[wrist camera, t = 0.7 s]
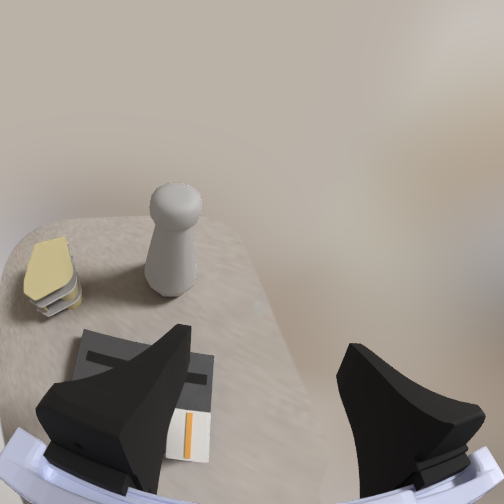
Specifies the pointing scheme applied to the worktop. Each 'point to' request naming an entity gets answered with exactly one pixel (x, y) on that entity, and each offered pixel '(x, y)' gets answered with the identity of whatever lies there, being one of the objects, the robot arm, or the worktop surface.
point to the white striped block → (189, 436)
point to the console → (120, 351)
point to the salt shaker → (173, 239)
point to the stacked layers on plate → (52, 278)
